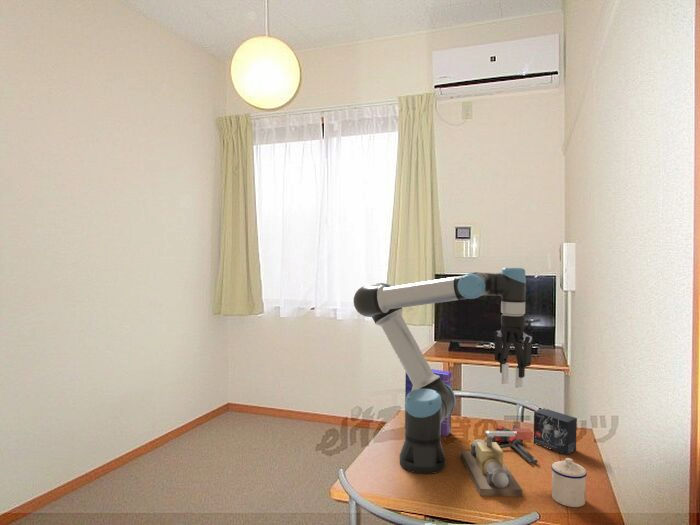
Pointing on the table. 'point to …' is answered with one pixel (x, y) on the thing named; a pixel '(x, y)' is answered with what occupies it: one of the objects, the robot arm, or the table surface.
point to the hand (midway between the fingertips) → (511, 385)
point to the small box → (555, 431)
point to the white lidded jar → (568, 483)
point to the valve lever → (512, 434)
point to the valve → (513, 443)
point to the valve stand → (490, 470)
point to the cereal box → (447, 380)
